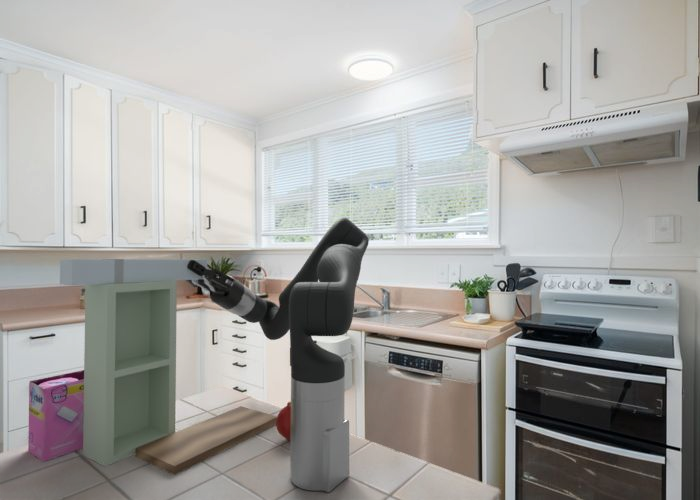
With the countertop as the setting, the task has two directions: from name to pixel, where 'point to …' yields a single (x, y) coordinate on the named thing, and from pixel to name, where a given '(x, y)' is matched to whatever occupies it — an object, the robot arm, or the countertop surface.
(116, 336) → the shelf
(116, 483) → the countertop surface
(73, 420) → the gum box
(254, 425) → the board
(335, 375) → the robot arm
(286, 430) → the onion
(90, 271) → the light blue box
